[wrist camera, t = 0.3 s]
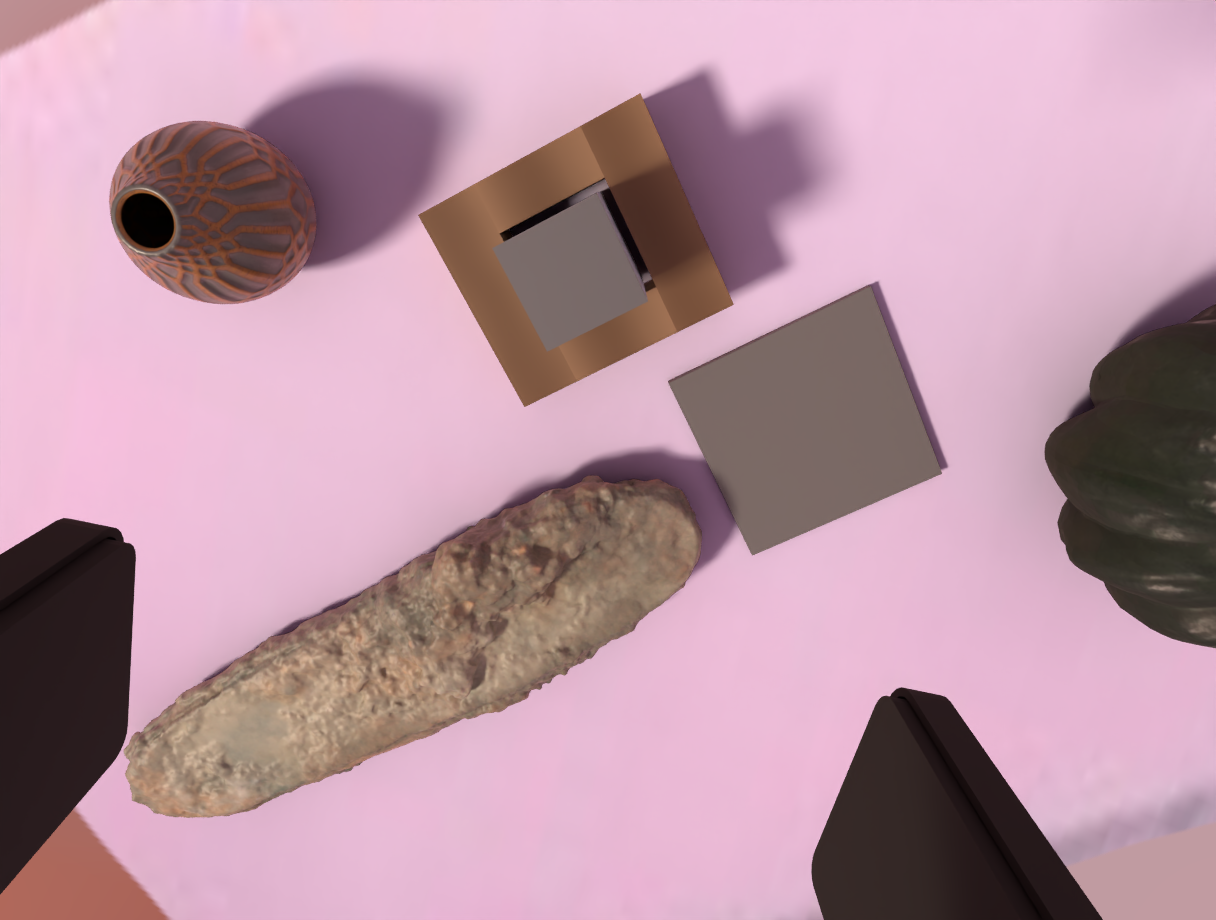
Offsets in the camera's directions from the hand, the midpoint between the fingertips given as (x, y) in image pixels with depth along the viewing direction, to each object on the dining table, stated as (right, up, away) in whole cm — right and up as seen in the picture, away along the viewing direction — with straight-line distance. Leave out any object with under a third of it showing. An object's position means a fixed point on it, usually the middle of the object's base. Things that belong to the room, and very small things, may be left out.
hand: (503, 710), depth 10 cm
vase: (-14, +14, +25) cm, 32 cm away
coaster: (+11, +5, +28) cm, 30 cm away
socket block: (0, +12, +25) cm, 28 cm away
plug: (0, +12, +25) cm, 28 cm away
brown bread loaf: (-10, -7, +33) cm, 35 cm away
